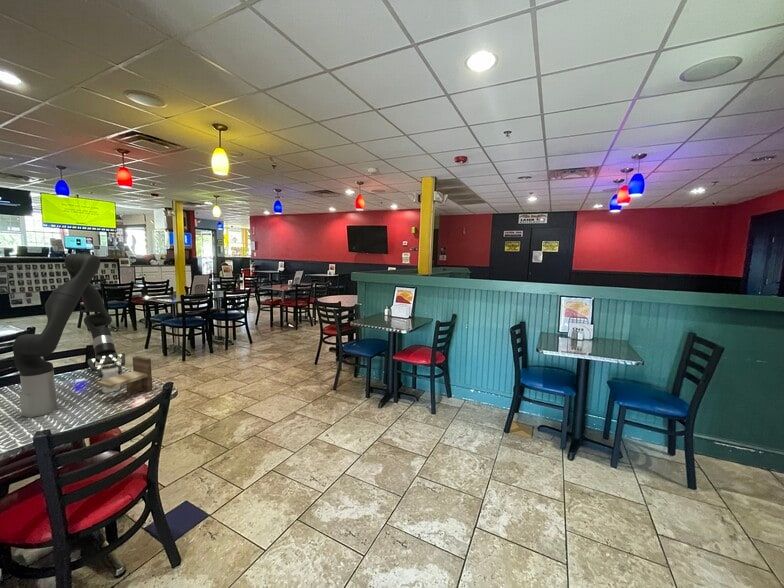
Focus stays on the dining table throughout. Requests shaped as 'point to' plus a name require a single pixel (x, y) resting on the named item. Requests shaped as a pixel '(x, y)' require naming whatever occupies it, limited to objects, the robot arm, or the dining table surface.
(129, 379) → the wooden l-shaped bracket
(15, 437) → the dining table surface
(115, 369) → the can
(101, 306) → the robot arm
